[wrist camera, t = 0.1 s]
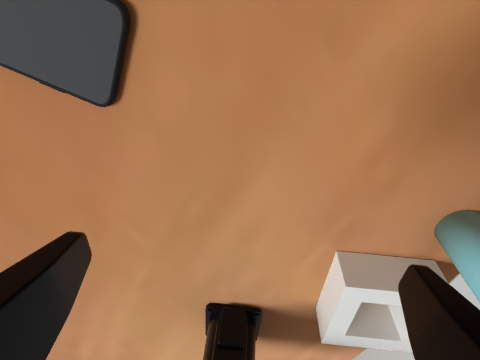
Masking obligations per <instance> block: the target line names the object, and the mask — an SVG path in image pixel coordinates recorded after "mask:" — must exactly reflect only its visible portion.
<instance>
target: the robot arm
mask: <svg viewBox="0 0 480 360" xmlns="http://www.w3.org/2000/svg"><path fill="white" fill-rule="evenodd" d="M91 256H92V254H91V249H90V246H89V243H88V240H87V237H86V235H85V234H84V233H82V232H73V231H70V232H67V233H65V234H63V235H62V236H60V237H58V238H57V239H55V240H53V241H52V242H50V243H48V244H47V245H45V246H44V247H42V248H40V249H39V250H37V251H35V252H34V253H32V254H30V255H29V256H27V257H25V258H24V259H22V260H21V261H19V262H17V263H16V264H14V265H12V266H11V267H9V268H7V269H6V270H4V271H2V272H1V273H0V360H46V358H47V356H48V354H49V352H50V350H51V348H52V346H53V345H54V343H55V341H56V339H57V337H58V335H59V333H60V331H61V329H62V327H63V325H64V323H65V321H66V319H67V317H68V315H69V313H70V311H71V309H72V306H73V304H74V302H75V299H76V296H77V294H78V291H79V289H80V286H81V284H82V281H83V279H84V276H85V274H86V271H87V269H88V266H89V264H90V261H91ZM398 292H399V296H400V301H401V305H402V310H403V314H404V319H405V323H406V328H407V332H408V337H409V341H410V345H411V348H412V351H413V355H414V358H415V360H480V310H479V309H478V308H477V307H475V306H474V305H473V304H472V303H471V302H470V301H468V300H467V299H466V298H465V297H464V296H462V295H461V294H460V293H459V292H458V291H457V290H455V289H454V288H453V287H452V286H451V285H449V284H448V283H447V282H446V281H445V280H444V279H442V278H441V277H440V276H439V275H438V274H436V273H435V272H434V271H433V270H432V269H430V268H429V267H428V266H425V265H416V264H411V265H410V266H408V268H407V269H406V271H405V273H404V275H403V276H402V278H401V280H400V281H399V284H398ZM260 320H261V310H260V309H254V308H244V307H234V306H224V305H214V304H208V305H206V336H207V338H206V344H205V350H204V357H203V360H255V341H256V340H257V336H258V330H259V325H260Z"/></svg>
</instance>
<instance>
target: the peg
mask: <svg viewBox="0 0 480 360" xmlns="http://www.w3.org/2000/svg"><path fill="white" fill-rule="evenodd" d="M435 236H436V238H437V240H438V241H439V243H440V244H441V246H442V247H443V249H444V250H445V252H446V253H447V255H448V256H449V258H450V259H451V261H452V262H453V264H454V265H455V267H456V268H457V270H458V271H459V273H460V274H461V275H462V277H463V278H464V280H465V281H466V283H467V284H468V286H469V287H470V289H471V290H472V292H473V293H474V294H475V296H476V298H477V299H478V301H479V302H480V212H477V211H473V210H463V211H458V212H454V213H452V214H450V215H448V216H446V217H444V218H443V219H442V220H441V221H440V222H439V223H438V224H437V226H436V228H435Z"/></svg>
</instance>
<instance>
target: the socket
mask: <svg viewBox="0 0 480 360" xmlns="http://www.w3.org/2000/svg"><path fill="white" fill-rule="evenodd" d="M411 264H416V265H425V266H428V267H429V268H430V269H432V270H433V271H434V272H435V273H436V274H438V275H439V276H440V277H441V278H442V279H444V280H445V281H446V282H447V283H448V281H447V280H446V278H445V276H444V275H443V273H442V272H441V270H440V268H439V267H438V265H437V263H436V262H435V260H424V259H414V258H403V257H393V256H383V255H372V254H362V253H352V252H341V251H336V253H335V256H334V259H333V262H332V264H331V267H330V270H329V273H328V275H327V278H326V281H325V284H324V286H323V289H322V292H321V295H320V297H319V300H318V303H317V306H316V312H317V319H318V325H319V331H320V338H321V343H323V344H333V345H343V346H353V347H363V348H373V349H382V350H392V351H402V352H412V353H413V351H412V348H411V345H410V341H409V337H408V332H407V328H406V323H405V319H404V314H403V310H402V305H401V301H400V296H399V292H398V284H399V281H400V280H401V278H402V276H403V275H404V273H405V271H406V269H407V268H408V266H410V265H411ZM448 284H449V283H448Z"/></svg>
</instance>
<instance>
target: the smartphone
mask: <svg viewBox="0 0 480 360" xmlns="http://www.w3.org/2000/svg"><path fill="white" fill-rule="evenodd" d="M129 27H130V17H129V13H128V9H127V8H126V6H125V5H124V4H123V2H122V1H120V0H0V65H1V66H3V67H5V68H8V69H10V70H13V71H15V72H17V73H20V74H22V75H24V76H27V77H29V78H32V79H34V80H36V81H39V83H41V84H44V85H46V86H49V87H51V88H53V89H56V90H58V91H61V92H63V93H68V94H70V95H72V96H75V97H77V98H80V99H82V100H84V101H87V102H89V103H92V104H94V105H96V106H100V107H106V106H109V105H110V104H112V102H113V101H114V99H115V97H116V94H117V88H118V83H119V78H120V72H121V67H122V62H123V57H124V52H125V47H126V42H127V37H128V32H129Z"/></svg>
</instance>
